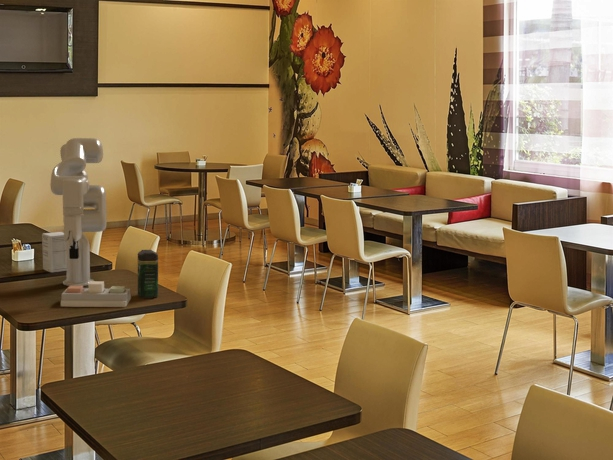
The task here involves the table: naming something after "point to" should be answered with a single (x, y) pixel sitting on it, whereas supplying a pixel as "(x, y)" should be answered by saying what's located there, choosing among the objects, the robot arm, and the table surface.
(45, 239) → the supplement box
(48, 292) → the table surface
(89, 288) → the cream key
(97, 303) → the keypad
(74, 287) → the terracotta key
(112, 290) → the sage key
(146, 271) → the coffee jar
